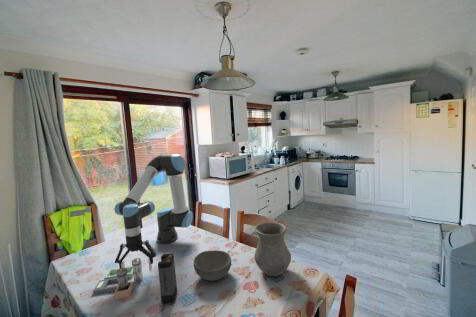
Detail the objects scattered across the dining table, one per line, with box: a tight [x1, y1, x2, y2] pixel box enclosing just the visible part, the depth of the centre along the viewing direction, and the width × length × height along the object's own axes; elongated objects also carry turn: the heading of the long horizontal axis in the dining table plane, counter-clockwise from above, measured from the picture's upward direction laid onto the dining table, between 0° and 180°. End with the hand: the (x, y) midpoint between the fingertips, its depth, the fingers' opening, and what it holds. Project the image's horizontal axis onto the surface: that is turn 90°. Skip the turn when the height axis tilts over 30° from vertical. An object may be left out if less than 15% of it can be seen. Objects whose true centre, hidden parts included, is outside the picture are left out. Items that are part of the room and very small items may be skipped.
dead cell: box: [116, 268, 129, 291], centre depth 110 cm, size 4×4×13 cm
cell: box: [131, 257, 144, 284], centre depth 120 cm, size 4×4×13 cm
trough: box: [103, 265, 134, 280], centre depth 125 cm, size 14×8×3 cm, turn 101°
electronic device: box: [157, 252, 178, 306], centre depth 105 cm, size 9×6×20 cm, turn 5°
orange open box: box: [114, 281, 134, 300], centre depth 110 cm, size 6×6×4 cm
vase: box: [254, 221, 292, 277], centre depth 120 cm, size 20×19×25 cm
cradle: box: [92, 278, 118, 295], centre depth 116 cm, size 12×8×3 cm
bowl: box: [193, 249, 232, 282], centre depth 121 cm, size 20×20×10 cm
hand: (137, 271), depth 120 cm, fingers open, 13 cm apart
